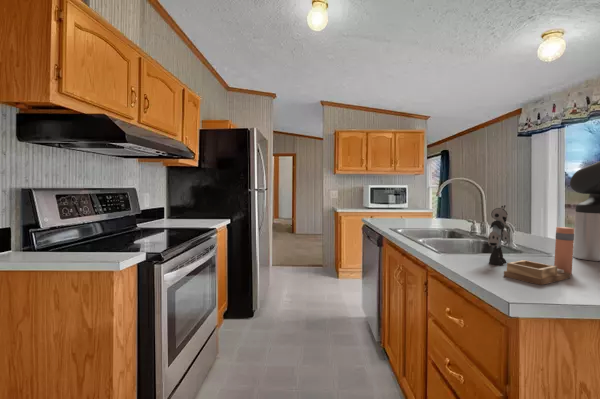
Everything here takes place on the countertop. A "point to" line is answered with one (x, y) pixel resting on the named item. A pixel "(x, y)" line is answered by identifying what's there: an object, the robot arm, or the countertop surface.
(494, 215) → the robot
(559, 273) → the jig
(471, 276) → the countertop surface
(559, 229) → the banded orange cylinder
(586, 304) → the countertop surface
